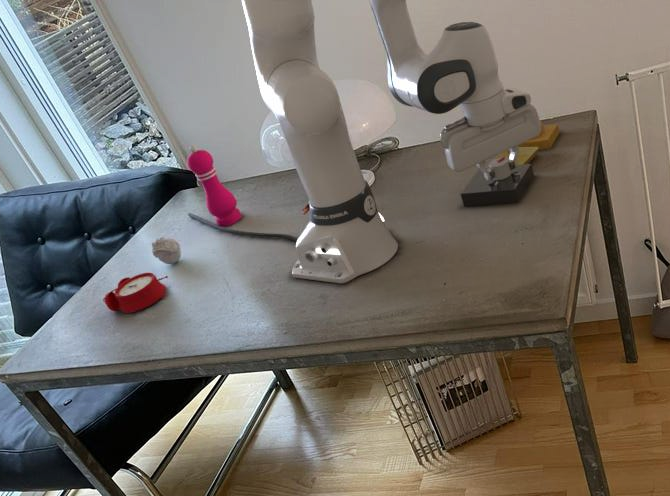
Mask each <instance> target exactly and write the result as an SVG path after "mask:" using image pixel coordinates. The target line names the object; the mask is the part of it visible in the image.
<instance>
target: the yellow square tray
mask: <svg viewBox="0 0 670 496" xmlns="http://www.w3.org/2000/svg"><path fill="white" fill-rule="evenodd" d="M538 149H539V147H519V152H518V156H517V159H516V162H517V165H523V164H530V163H531V162H532V160H534V158H536V156H537V153H538V151H539V150H538ZM510 153H511V151H510V150H507V151H505V152H502V153H500V154H498V155H496V156H495V158H494V159H493V160H495V159H498V158H501V157H502V156H505V158H507V159H509V158H510ZM487 168H490V167H489V164H488V165H487Z"/></svg>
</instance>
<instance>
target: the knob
mask: <svg viewBox="0 0 670 496" xmlns="http://www.w3.org/2000/svg"><path fill="white" fill-rule="evenodd" d="M494 159H495V158H494ZM494 159H493V160H491V161H490V162H489V164H488V165H489V167H488V168H490V169H491V170H493V172H494V174H493V175H494V176H495V178H493V179H494V180H502V179H505V178H507V177H509V176H510V175H511V169H510V165H509V161H508V159H507V158H505V156H502V157H501V158H498V159H495V160H494Z"/></svg>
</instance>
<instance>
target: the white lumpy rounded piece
mask: <svg viewBox="0 0 670 496" xmlns="http://www.w3.org/2000/svg"><path fill="white" fill-rule="evenodd" d="M151 246H152V250H151V253H152V255H153V256H154V257H155V258H156V259H158V260H159V261H160V262H162V263H164V264H166V265H174V264H176V263H177V262H178V261H179V260H180V259H181V255H182V252H181V247H180V243H179V242H178V241H177V240H175V239H174V238H171V237H162V236H161V237H157V238H156V239H155V240H154V241H152V242H151Z"/></svg>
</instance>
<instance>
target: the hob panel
mask: <svg viewBox="0 0 670 496" xmlns="http://www.w3.org/2000/svg"><path fill="white" fill-rule="evenodd" d="M517 166H518V167H517V168H514V169H512V170H511V175H510V176H509V177H507V178H505V179H502V180H494V179H491V180H489V181H488V180H486V178H485V176H484V172H483V171H482V170H481V169H480V168H478V169H477V171H476V172H475V173H474V175H473V176H472V177H471V179H470V180H469V182H468V183H467V184H466V186H465V187H464V188H463V190H462V191H461V192H460V197H461V201H462V204H463V207H464V208H467V207H481V206H491V205H492V206H493V205H505V204H506V205H507V204H518V203H519V202H520V200H521V199H522V197H523V196H524V194H525V192H526V191H527V189H528V188H529V186H530V184H531V183H532V181H533V179H534V178H535V174H534V170H533V165H532V163H529V164H523V165H517ZM485 168H486V169H489V168H490V167H485Z"/></svg>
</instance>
